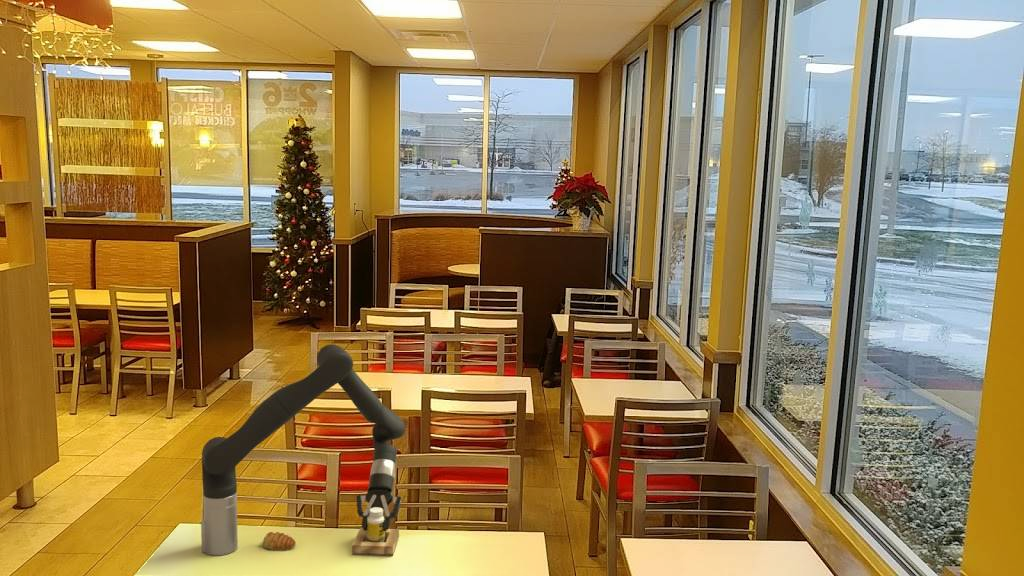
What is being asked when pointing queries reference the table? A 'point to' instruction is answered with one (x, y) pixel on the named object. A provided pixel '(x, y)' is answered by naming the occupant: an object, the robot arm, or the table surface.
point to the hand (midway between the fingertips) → (375, 529)
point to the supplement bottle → (375, 525)
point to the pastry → (278, 541)
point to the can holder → (375, 544)
